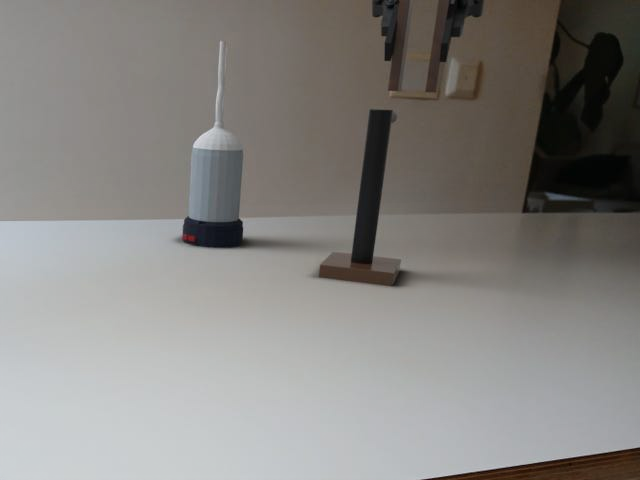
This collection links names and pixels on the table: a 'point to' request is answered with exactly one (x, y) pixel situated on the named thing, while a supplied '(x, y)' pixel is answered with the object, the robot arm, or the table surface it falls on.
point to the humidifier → (215, 181)
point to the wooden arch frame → (402, 43)
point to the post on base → (367, 214)
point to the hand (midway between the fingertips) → (415, 52)
